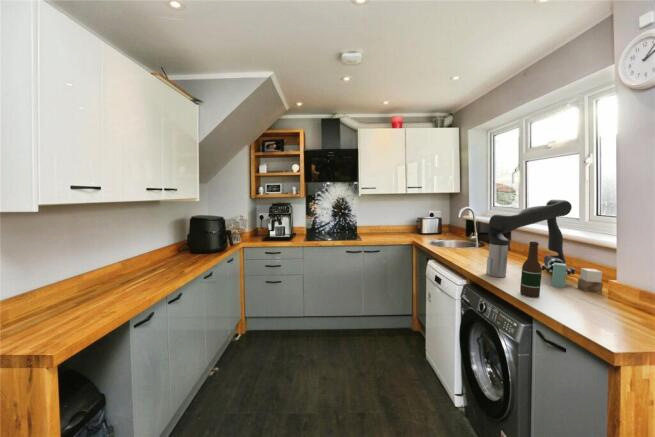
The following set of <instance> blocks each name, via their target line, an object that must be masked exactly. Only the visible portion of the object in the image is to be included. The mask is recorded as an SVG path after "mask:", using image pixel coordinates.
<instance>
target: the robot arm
mask: <svg viewBox="0 0 655 437" xmlns="http://www.w3.org/2000/svg"><path fill="white" fill-rule="evenodd" d="M572 208H573V207H572V204H571V202H570V201H568V200H565V199H550V200H548V201H547V202H546V204H545V205H535V206H531V207H527V208H523V209H522V210H521V211H519V213H518V214H513V215H503V214H493V215H492V216H491V217H490V218H489V221H488V239H489V247H488V248H489V249H488V256H487V257H486V258H487V259H486V271H485V272H486V274H487V275H488V276H489V277H495V278H496V277H497V278H505V277H507V267H508V254H509V239H508V238H506V237H505V236H504V234H505V233H510V232H513V231H514V230H517V229H519V228H523V227H526V226H529V225H533V224H537V223H540V222H543V221H546V222H547V230H548V242H547V243H548V244H547V249H548V250H549V251H550V252H555V253H557V254H545V256H543V257H544V258H543V263H542V265H541V268H542V271H545V272H547V273H550V272H551V273H552V274H553V265H554V263H562V264H566V259H565V255H564V251H563V247H564V246H563V245H564V237H563V234H562V231H561V229H560V227H559V225H558V223H557V222H558V221H557V218H558V217H565V216H568V215H569V214H570V213H571V211H572ZM575 271H576V268H575V267H572V266H571V267H569V268H568V266H567V267H566V275H567V276H570V275H571V274H572V275H575Z"/></svg>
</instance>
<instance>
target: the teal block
mask: <svg viewBox="0 0 655 437" xmlns="http://www.w3.org/2000/svg"><path fill="white" fill-rule="evenodd" d="M566 267H568V266H567V264H566V263H565V264H562V263H554V265H553V273H552V277H551V286H552V287H557V288H565V287H566V286H565V285H566V276H567V274H566Z"/></svg>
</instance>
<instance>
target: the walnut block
mask: <svg viewBox="0 0 655 437" xmlns="http://www.w3.org/2000/svg"><path fill="white" fill-rule="evenodd" d="M577 279H578V280H577V287H578V288H577V289H579V288H580V290H581V291H583V292H585V293H587V292H588V293H596V292H600V293H599V294H602V293H603V287H604V286H603V285H604V283H603V282H602V281H601V282H589V281H585V280H583V279H581V278H580V277H578V278H577Z"/></svg>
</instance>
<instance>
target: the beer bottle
mask: <svg viewBox="0 0 655 437" xmlns="http://www.w3.org/2000/svg"><path fill="white" fill-rule="evenodd" d="M528 244H529V248H528V255H527V258H526V260H525V261H524V262H523V263H522V267H521V275H520V276H521V278H520V285H519V286H520V288H519V290H520V291H519V292H520V296H521V295H522V296H523V295H524V297H527V298H534V299H535V298H540V294H541V283H542V271H543V270H542V265H541V264H540V263H541V262H540V261H539V256H538V255H539V253H538V252H539V245H540V244H539V242H538V241H529V243H528Z"/></svg>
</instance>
